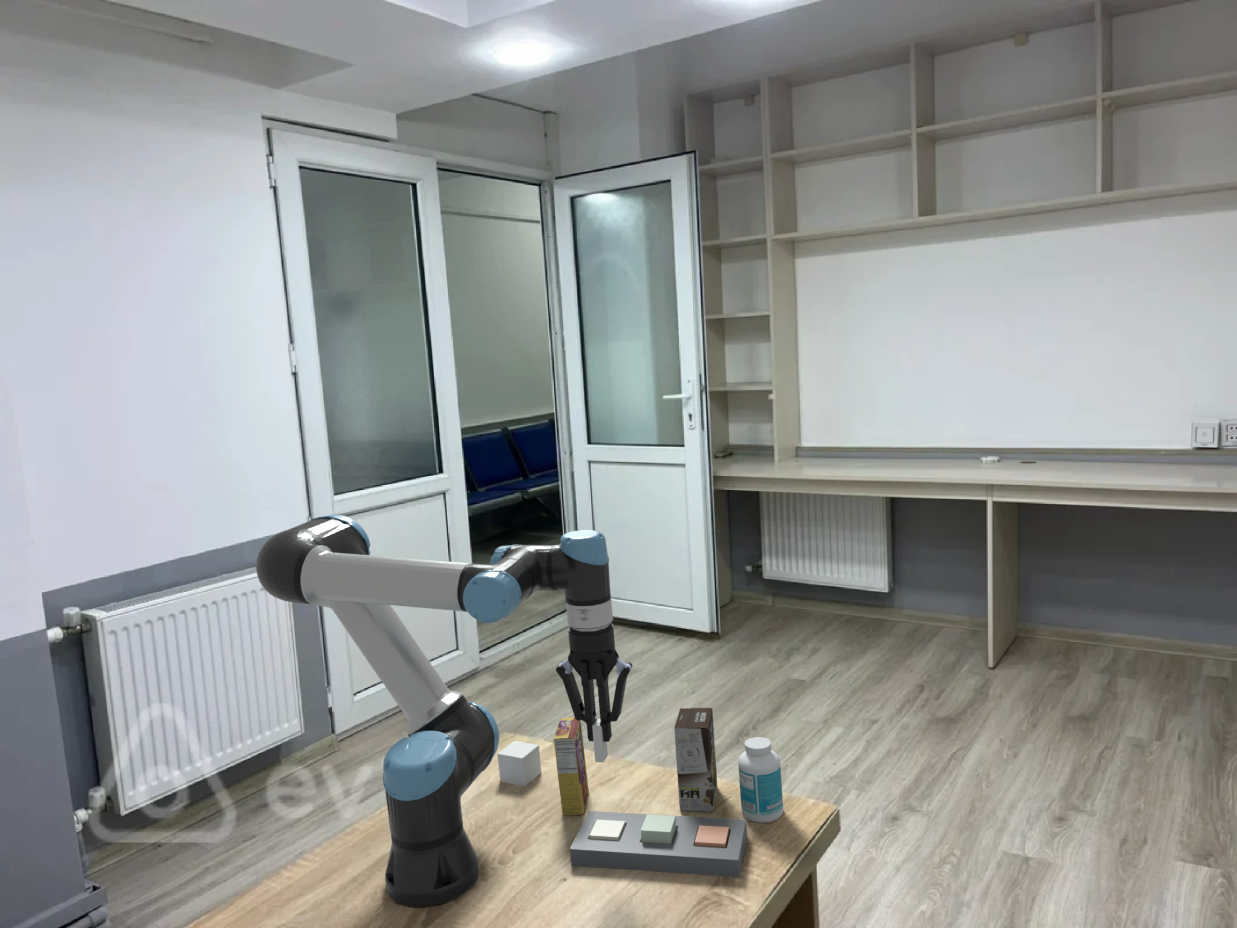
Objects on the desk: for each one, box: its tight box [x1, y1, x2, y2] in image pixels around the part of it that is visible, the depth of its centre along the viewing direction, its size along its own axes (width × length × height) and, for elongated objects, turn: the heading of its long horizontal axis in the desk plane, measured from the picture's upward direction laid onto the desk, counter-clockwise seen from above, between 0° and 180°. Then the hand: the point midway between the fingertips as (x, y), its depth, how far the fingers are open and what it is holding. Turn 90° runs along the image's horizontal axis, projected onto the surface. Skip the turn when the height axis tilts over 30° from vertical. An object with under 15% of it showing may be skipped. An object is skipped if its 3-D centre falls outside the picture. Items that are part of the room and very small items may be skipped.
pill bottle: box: [737, 736, 784, 824], centre depth 164 cm, size 8×7×14 cm
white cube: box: [496, 740, 542, 787], centre depth 185 cm, size 6×6×6 cm
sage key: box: [641, 813, 677, 844], centre depth 155 cm, size 5×5×3 cm
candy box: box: [553, 717, 590, 816], centre depth 172 cm, size 9×4×15 cm, turn 175°
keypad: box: [569, 810, 748, 878], centre depth 155 cm, size 28×12×3 cm, turn 76°
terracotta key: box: [695, 825, 729, 848], centre depth 153 cm, size 5×5×3 cm
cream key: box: [590, 820, 625, 841], centre depth 157 cm, size 5×5×3 cm
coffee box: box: [673, 707, 718, 813], centre depth 170 cm, size 9×6×16 cm
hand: (601, 758), depth 155 cm, fingers closed
